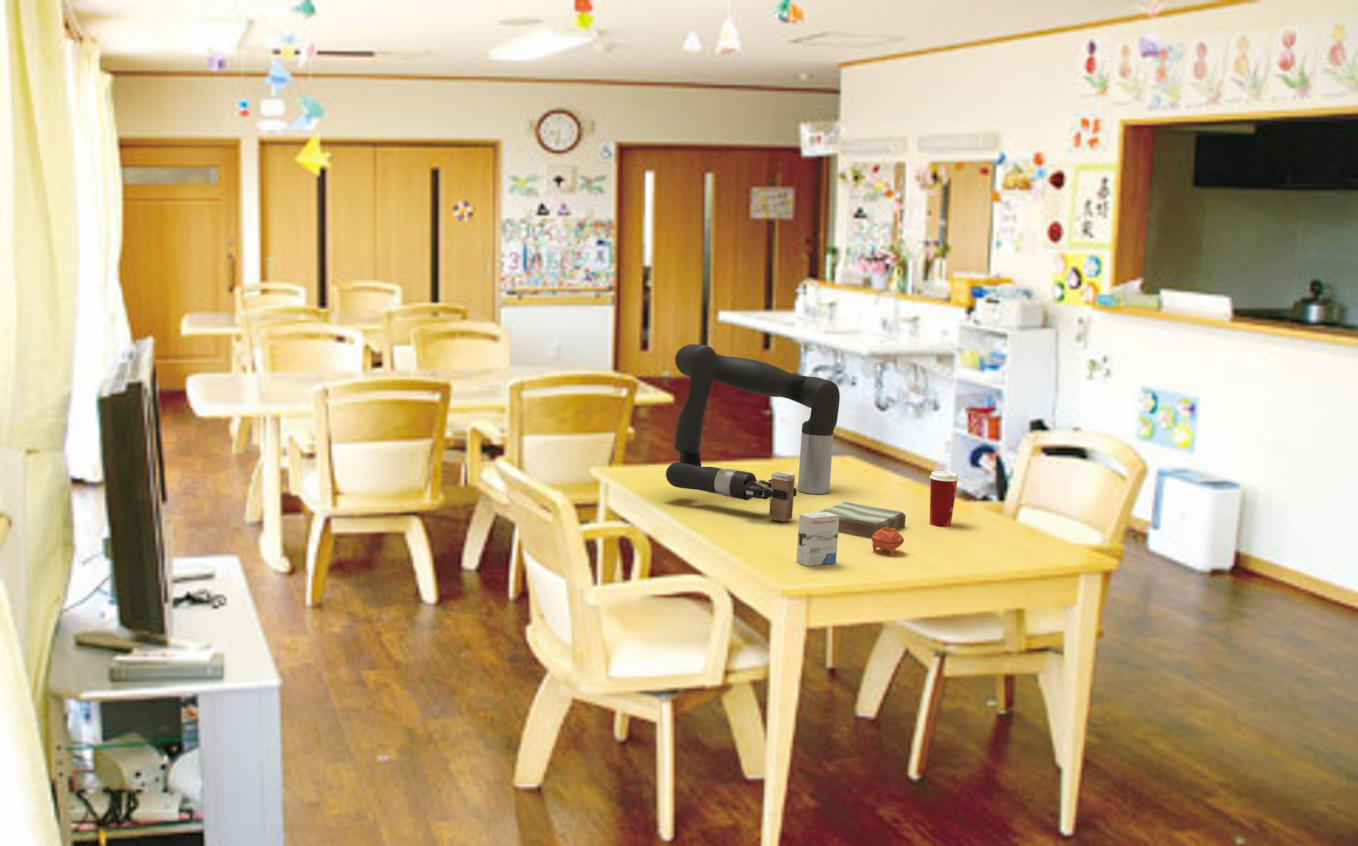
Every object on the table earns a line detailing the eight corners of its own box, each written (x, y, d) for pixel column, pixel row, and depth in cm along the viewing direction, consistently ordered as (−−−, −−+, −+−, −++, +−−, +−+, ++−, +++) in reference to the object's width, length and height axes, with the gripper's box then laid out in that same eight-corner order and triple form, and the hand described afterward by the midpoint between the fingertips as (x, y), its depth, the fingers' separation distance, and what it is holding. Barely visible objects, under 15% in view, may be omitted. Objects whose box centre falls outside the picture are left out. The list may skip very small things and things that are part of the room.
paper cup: (960, 527, 373) (964, 475, 370) (935, 528, 370) (940, 476, 367) (944, 520, 380) (948, 469, 377) (920, 521, 377) (924, 470, 375)
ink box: (825, 558, 333) (828, 510, 331) (836, 563, 329) (840, 515, 327) (795, 561, 329) (798, 512, 327) (806, 566, 325) (809, 517, 323)
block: (776, 515, 372) (779, 471, 370) (792, 518, 369) (795, 473, 367) (768, 518, 368) (771, 473, 366) (784, 521, 366) (787, 476, 363)
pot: (870, 554, 338) (871, 526, 339) (870, 554, 346) (871, 526, 346) (904, 556, 337) (905, 528, 338) (902, 555, 345) (903, 528, 345)
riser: (843, 515, 379) (844, 501, 378) (904, 526, 369) (905, 512, 369) (813, 527, 364) (814, 512, 363) (877, 539, 354) (878, 524, 354)
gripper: (722, 474, 368) (779, 484, 359) (748, 466, 380) (804, 476, 371) (721, 502, 369) (777, 513, 361) (747, 493, 381) (802, 503, 373)
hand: (791, 494), depth 366 cm, fingers closed on block, 4 cm apart
